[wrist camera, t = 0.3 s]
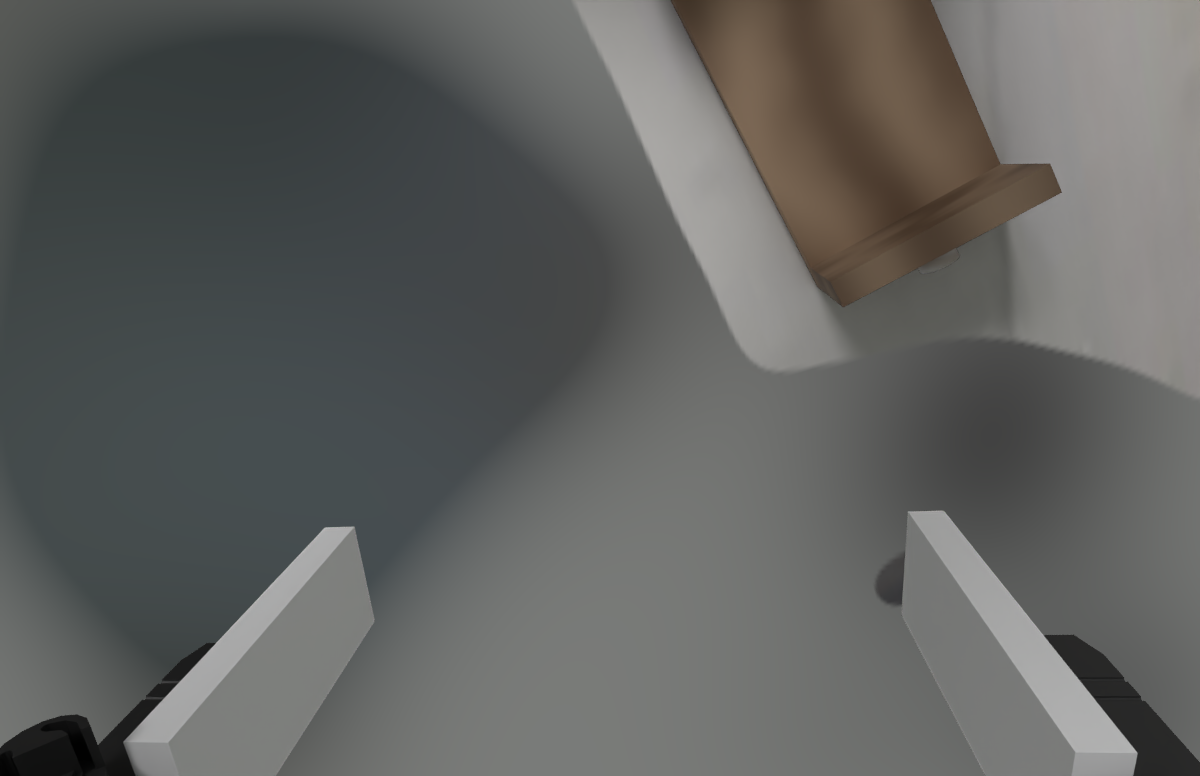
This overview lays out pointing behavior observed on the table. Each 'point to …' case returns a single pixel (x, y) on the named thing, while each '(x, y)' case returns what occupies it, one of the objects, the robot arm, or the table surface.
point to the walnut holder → (860, 133)
